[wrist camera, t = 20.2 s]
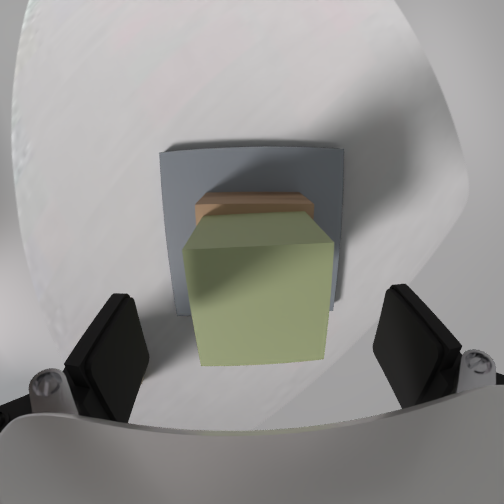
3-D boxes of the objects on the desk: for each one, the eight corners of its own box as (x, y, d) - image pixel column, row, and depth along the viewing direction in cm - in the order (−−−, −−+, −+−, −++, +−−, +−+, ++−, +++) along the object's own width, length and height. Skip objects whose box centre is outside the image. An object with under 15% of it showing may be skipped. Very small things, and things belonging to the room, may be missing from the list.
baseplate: (163, 152, 21) (159, 152, 20) (339, 148, 21) (343, 148, 20) (179, 309, 26) (177, 315, 25) (330, 305, 26) (333, 310, 25)
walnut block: (206, 192, 21) (195, 204, 16) (299, 192, 21) (314, 204, 17) (210, 277, 24) (202, 309, 19) (295, 276, 24) (306, 307, 19)
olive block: (202, 216, 17) (181, 249, 11) (304, 211, 17) (334, 242, 11) (212, 305, 19) (201, 366, 13) (302, 300, 19) (323, 359, 13)
